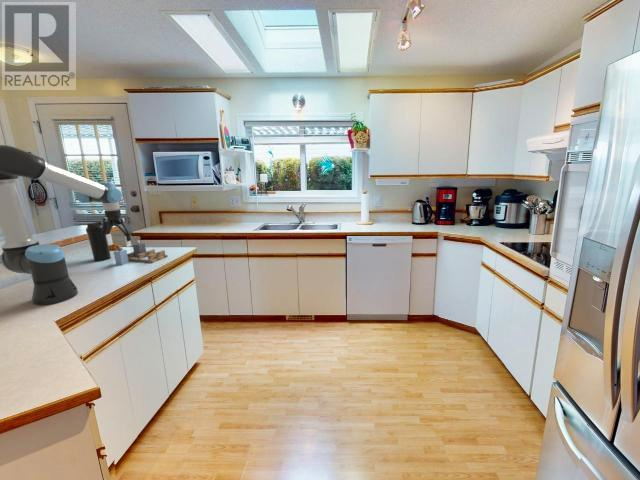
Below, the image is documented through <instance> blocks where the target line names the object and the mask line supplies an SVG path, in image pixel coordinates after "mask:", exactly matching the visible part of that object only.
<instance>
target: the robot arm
mask: <svg viewBox="0 0 640 480" xmlns="http://www.w3.org/2000/svg"><path fill="white" fill-rule="evenodd" d="M19 177H23V178H27V179H30V180H33V181H36V180H40V181H44V182H47V183H50V184H53V185H55V186H58V187H62V188H65V189H68V190H70V191H72V192H75V198H76V200H78V202H80V203H81V204H85V203H102V208H103V210H104V216H105V217H103V218H102V222H103V223H102V224H103V226H102V231H101V233H104V234H105V236H106V240H107V243H108V246H109V247H110V246H112V245H114V242H113V237H112V233H111V231H112V228H113V227H117V228H118V229H119V230H120V231H121V232H122V233H123V234H124V237H123V238H124V242H125V246H126V248H128V247H132V242H131V241H132V239H131V235H134V233H133V231H132V229H131V228H130V226H129V224H128V222H127V220H126V217H121V216H122V212H121V209H120V202H121V201H122V198H123V193H122V191H121V190H120V189H119V188H117V187H116V184H115V182H113V181H102V182H101V181H100V182H96V181H93V180H91V179H88V178H86V177H83V176H81V175H79V174H76V173H73V172H71V171H69V170H66V169H63V168H62V167H59V166H56V165H53V164H50V163H49V162H47V161H46V159H44V158H42V157H41V156H37V155H36V154H33V153H30V152H28V151H26V150H23V149H21V148H20V149H19V148H18V147H14V146H11V145H6V144H5V145H4V144H0V231H1V233H2V236H3V241H4V243H3V244H2V245H1V249H2V253H1V254H0V263H1V265H2V267H4V268H5V269H6V270H8V271H11V272H14V273H17V274H27V275H28V274H29V275H31V278H32V279H31V280H32V282H33V288H32V289H33V290H32V296H31V301H32V303H33V305H36V306H37V305H38V306H47V305H52V304H57V303H60V302H64V301H67V300H69V299H72V298H74V297H76V296H77V295H78V293H79V291H78V288H77V286H76V285H75V283H74V282H73V280H72V279H71V278H70V275H69V272H68V271H69V270H68V267H67V262H66V259H65V258H66V257H65V253H64V251H63V248H62V247H61V246H59V245H58V244H53V243H52V244H51V243H47V244H46V243H45V244H40V241H39V240H38V239H36V238H34V237H33V236H32V233H31V229H30V226H29V223H28V220H27V216H26V213H25V210H24V207H23V204H22V200H21V197H20V194H19V191H18V188H17V185H16V183H17V182H18V181H19V179H20V178H19ZM104 230H105V231H104Z"/></svg>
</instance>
